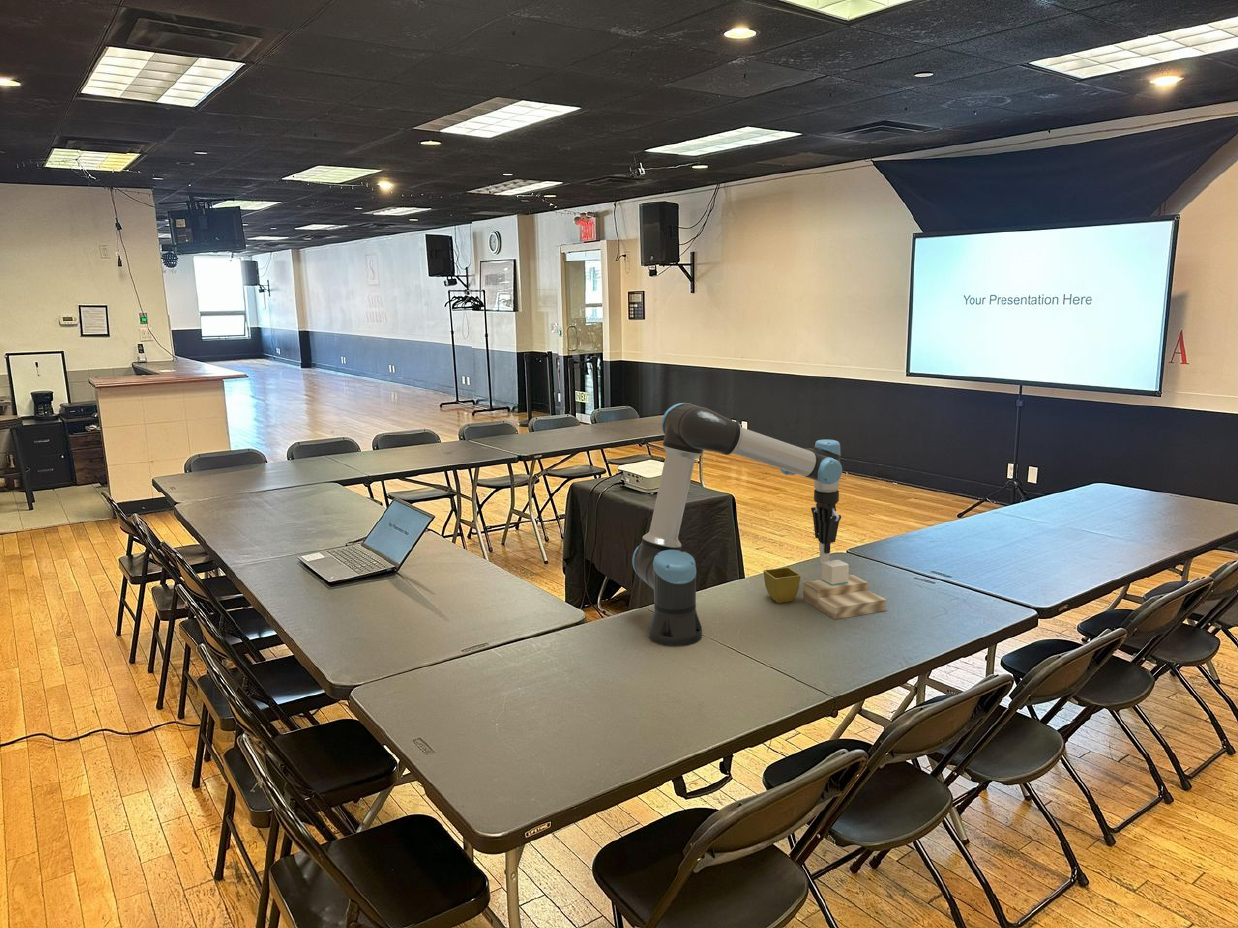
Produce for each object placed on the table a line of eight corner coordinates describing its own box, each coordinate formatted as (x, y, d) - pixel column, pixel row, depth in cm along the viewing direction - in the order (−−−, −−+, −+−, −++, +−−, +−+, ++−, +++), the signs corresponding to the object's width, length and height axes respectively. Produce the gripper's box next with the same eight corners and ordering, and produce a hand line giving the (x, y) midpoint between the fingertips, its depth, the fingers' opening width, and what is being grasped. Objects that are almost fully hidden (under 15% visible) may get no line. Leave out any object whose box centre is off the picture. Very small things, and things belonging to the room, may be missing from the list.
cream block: (831, 585, 245) (832, 567, 244) (821, 580, 250) (821, 561, 249) (848, 583, 247) (848, 564, 246) (837, 577, 252) (838, 559, 251)
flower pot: (774, 606, 245) (775, 578, 244) (762, 596, 254) (762, 569, 252) (800, 603, 248) (801, 575, 246) (787, 593, 256) (788, 566, 254)
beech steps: (834, 619, 234) (835, 599, 233) (803, 600, 250) (803, 581, 249) (885, 610, 240) (886, 591, 239) (851, 592, 256) (852, 574, 255)
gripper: (849, 492, 244) (846, 566, 248) (824, 484, 256) (822, 555, 260) (828, 495, 241) (826, 569, 246) (804, 486, 253) (802, 557, 258)
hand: (824, 562), depth 253 cm, fingers closed
